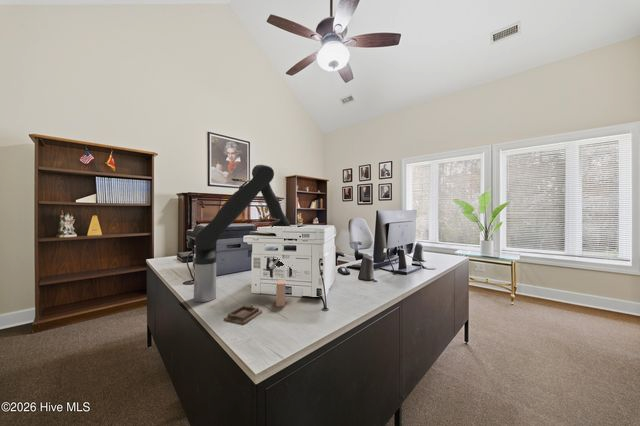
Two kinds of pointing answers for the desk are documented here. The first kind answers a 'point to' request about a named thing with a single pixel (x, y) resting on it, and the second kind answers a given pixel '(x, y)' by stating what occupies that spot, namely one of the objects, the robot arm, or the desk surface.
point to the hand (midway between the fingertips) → (281, 277)
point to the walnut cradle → (243, 314)
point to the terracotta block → (280, 293)
